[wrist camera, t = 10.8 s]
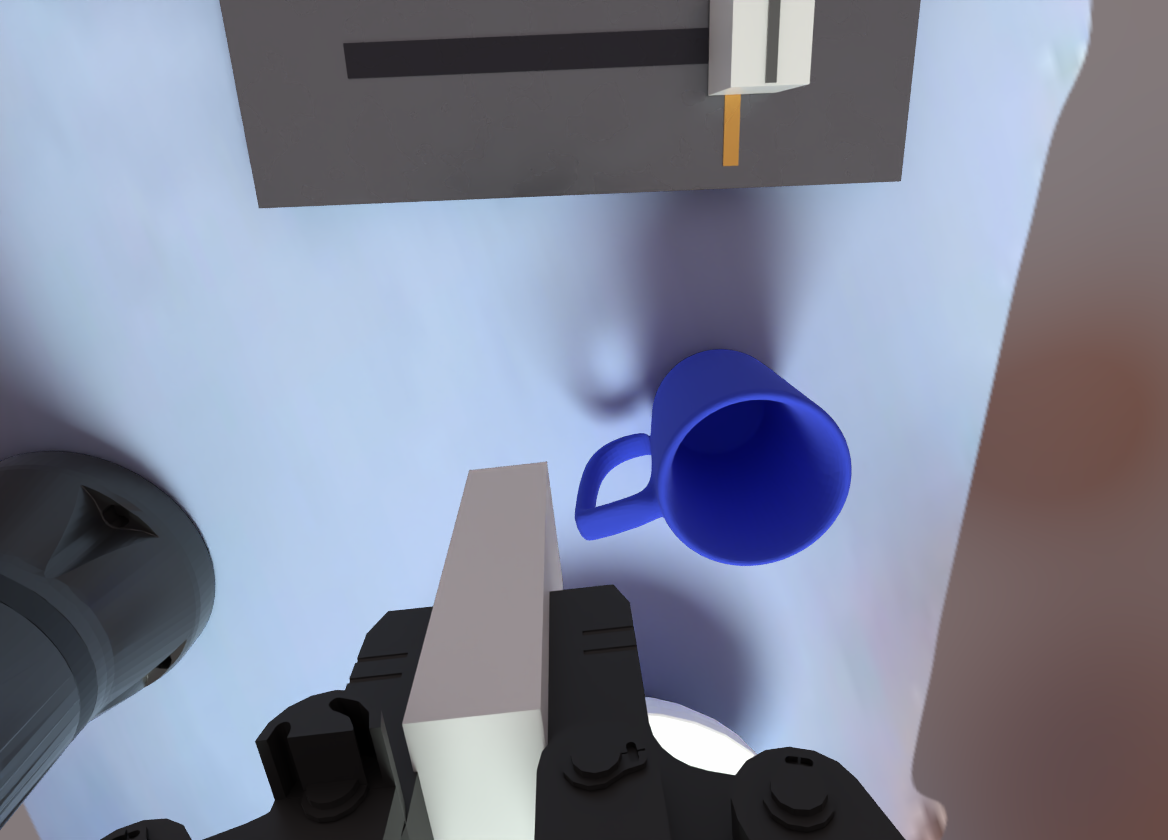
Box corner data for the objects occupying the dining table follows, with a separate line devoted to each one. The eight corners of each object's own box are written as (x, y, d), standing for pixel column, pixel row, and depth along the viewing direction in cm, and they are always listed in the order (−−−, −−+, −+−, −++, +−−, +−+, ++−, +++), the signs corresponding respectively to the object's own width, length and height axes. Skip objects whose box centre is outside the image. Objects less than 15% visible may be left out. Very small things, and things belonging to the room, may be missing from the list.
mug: (550, 386, 39) (542, 461, 30) (765, 308, 38) (827, 362, 29) (601, 512, 42) (609, 617, 33) (803, 444, 41) (872, 533, 32)
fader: (708, 95, 32) (731, 87, 28) (709, -8, 31) (735, -35, 26) (775, 92, 32) (810, 83, 28) (780, -11, 31) (818, -39, 26)
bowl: (461, 634, 45) (442, 714, 39) (775, 630, 45) (808, 710, 39) (478, 861, 52) (465, 961, 46) (750, 857, 52) (775, 956, 46)
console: (275, 204, 36) (258, 208, 34) (223, -83, 32) (199, -98, 30) (883, 179, 36) (901, 181, 34) (913, -112, 32) (935, -129, 30)
